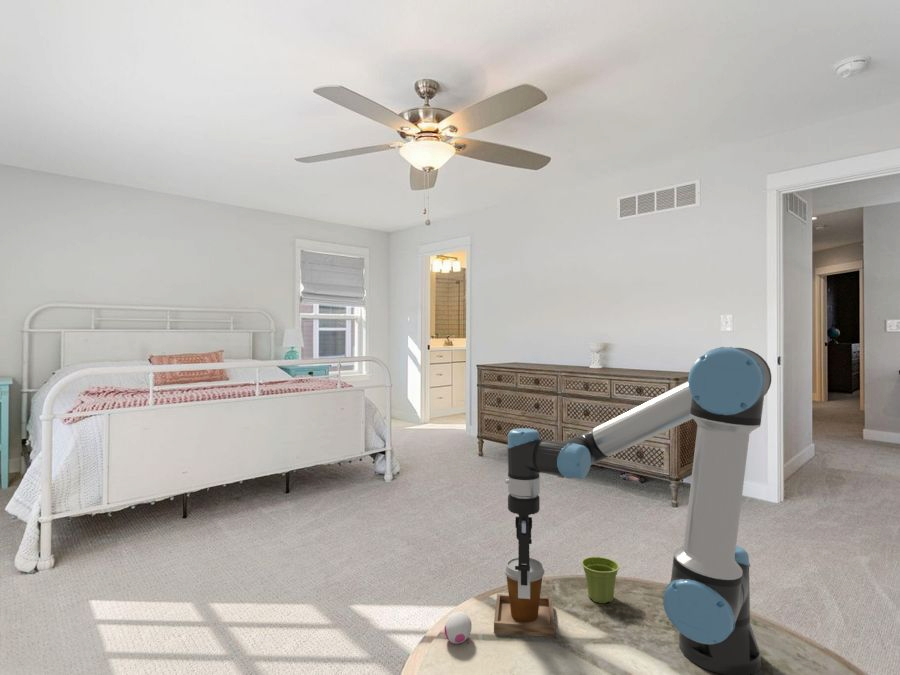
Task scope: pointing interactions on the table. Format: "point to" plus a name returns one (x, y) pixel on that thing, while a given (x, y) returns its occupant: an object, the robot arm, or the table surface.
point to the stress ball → (458, 627)
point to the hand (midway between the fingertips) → (524, 583)
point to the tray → (535, 628)
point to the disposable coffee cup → (529, 607)
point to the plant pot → (600, 578)
